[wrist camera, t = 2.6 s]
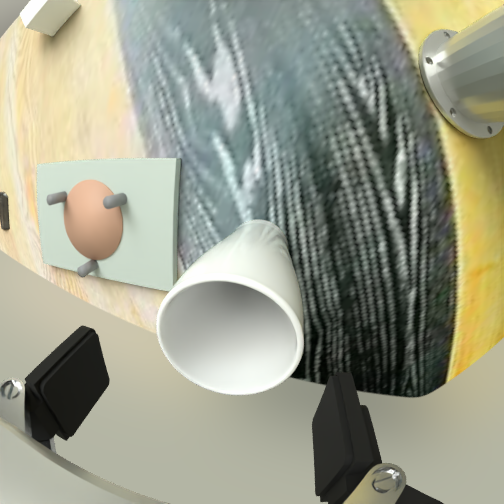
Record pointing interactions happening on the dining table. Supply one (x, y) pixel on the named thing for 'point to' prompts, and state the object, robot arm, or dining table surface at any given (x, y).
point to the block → (4, 211)
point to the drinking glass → (236, 314)
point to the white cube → (48, 14)
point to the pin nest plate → (111, 218)
